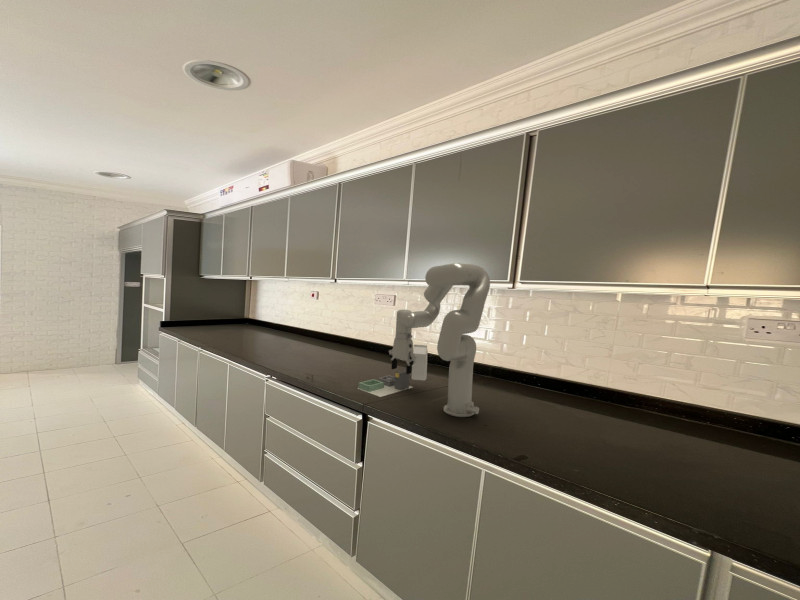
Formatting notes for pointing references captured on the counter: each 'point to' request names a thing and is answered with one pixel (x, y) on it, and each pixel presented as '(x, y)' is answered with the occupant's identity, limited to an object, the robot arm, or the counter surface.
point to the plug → (401, 380)
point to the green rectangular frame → (371, 385)
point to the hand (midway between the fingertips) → (401, 371)
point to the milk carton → (420, 362)
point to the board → (386, 387)
